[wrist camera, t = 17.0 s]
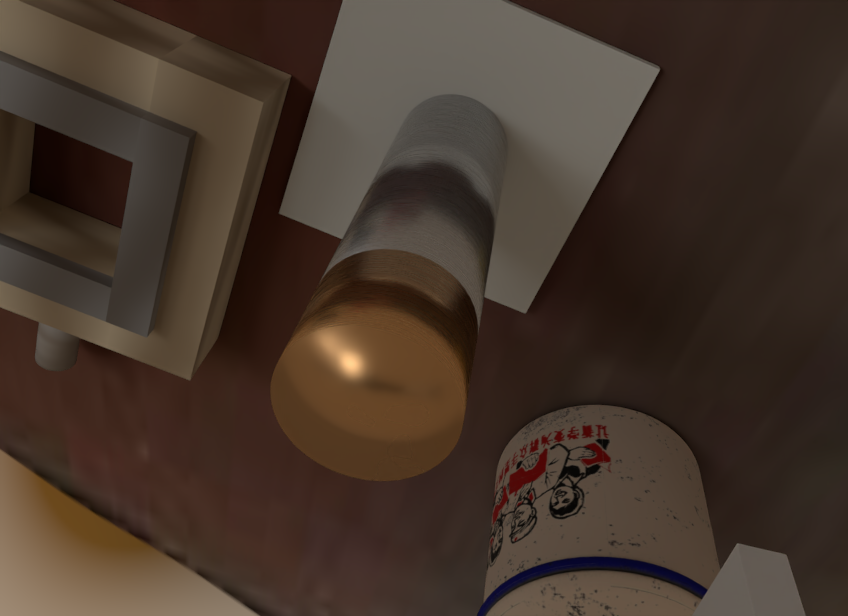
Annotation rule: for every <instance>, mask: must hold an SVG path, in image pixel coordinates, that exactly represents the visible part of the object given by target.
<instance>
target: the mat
mask: <svg viewBox="0 0 848 616" xmlns="http://www.w3.org/2000/svg"><path fill="white" fill-rule="evenodd" d="M659 71H660V68H659V66H657V65H655V64H653V63H650V62H648V61H646V60H643V59H641V58H639V57H637V56H634V55H632V54H630V53H627V52H625V51H623V50H621V49H618V48H616V47H614V46H611V45H609V44H607V43H604V42H602V41H600V40H598V39H595V38H593V37H591V36H588V35H586V34H584V33H582V32H579V31H577V30H575V29H572V28H570V27H568V26H566V25H563V24H561V23H559V22H556V21H554V20H552V19H550V18H547V17H545V16H543V15H540V14H538V13H536V12H534V11H531V10H529V9H527V8H524V7H522V6H520V5H517V4H515V3H513V2H511V1H508V0H343V2H342V5H341V9H340V12H339V15H338V19H337V22H336V25H335V29H334V32H333V35H332V39H331V42H330V45H329V49H328V52H327V55H326V59H325V62H324V65H323V69H322V72H321V75H320V78H319V82H318V85H317V88H316V92H315V95H314V98H313V102H312V105H311V108H310V112H309V115H308V118H307V122H306V125H305V128H304V132H303V135H302V138H301V142H300V145H299V148H298V151H297V155H296V158H295V161H294V165H293V168H292V171H291V175H290V178H289V181H288V185H287V188H286V191H285V195H284V198H283V201H282V205H281V208H280V211H279V214H281V215H284V216H286V217H289V218H291V219H294V220H296V221H299V222H301V223H303V224H306V225H308V226H311V227H313V228H316V229H318V230H321V231H323V232H326V233H328V234H331V235H333V236H335V237H338V238H340V239H342V238H343V236H344V234H345V233H346V231H347V229H348V227H349V225H350V223H351V221H352V219H353V217H354V215H355V213H356V211H357V210H358V208H359V206H360V204H361V202H362V200H363V198H364V196H365V194H366V192H367V190H368V188H369V187H370V185H371V183H372V181H373V179H374V177H375V175H376V173H377V171H378V169H379V167H380V165H381V164H382V162H383V160H384V158H385V156H386V154H387V152H388V150H389V148H390V146H391V144H392V142H393V141H394V139H395V137H396V135H397V133H398V131H399V129H400V127H401V125H402V123H403V122H404V120H405V118H406V117H407V115H408V114H409V113H410V111H412V110H413V109H414V108H415V107H416V106H417V105H418V104H420V103H421V102H423V101H425V100H427V99H429V98H432V97H434V96H439V95H445V94H457V95H463V96H467V97H470V98H473V99H475V100H477V101H479V102H481V103H482V104H484V105H485V106H486V107H488V108H489V109H490V110H491V111H492V112H493V113H494V114H495V115H496V117H497V118H498V119H499V121H500V122H501V124H502V126H503V128H504V131H505V134H506V137H507V143H508V156H507V162H506V168H505V174H504V180H503V186H502V192H501V198H500V204H499V210H498V216H497V222H496V228H495V235H494V241H493V247H492V253H491V259H490V265H489V271H488V277H487V283H486V289H485V295H484V297H486V298H488V299H490V300H493V301H495V302H498V303H500V304H503V305H505V306H508V307H510V308H513V309H515V310H517V311H520V312H522V313H525V314H526V312H527V310H528V308H529V307H530V305H531V303H532V301H533V299H534V297H535V296H536V294H537V292H538V290H539V288H540V287H541V285H542V283H543V281H544V279H545V277H546V276H547V274H548V272H549V270H550V268H551V267H552V265H553V263H554V261H555V259H556V258H557V256H558V254H559V252H560V250H561V248H562V247H563V245H564V243H565V241H566V239H567V238H568V236H569V234H570V232H571V230H572V229H573V227H574V225H575V223H576V221H577V219H578V218H579V216H580V214H581V212H582V210H583V209H584V207H585V205H586V203H587V201H588V200H589V198H590V196H591V194H592V192H593V190H594V189H595V187H596V185H597V183H598V181H599V180H600V178H601V176H602V174H603V172H604V171H605V169H606V167H607V165H608V163H609V161H610V160H611V158H612V156H613V154H614V152H615V151H616V149H617V147H618V145H619V143H620V142H621V140H622V138H623V136H624V134H625V132H626V131H627V129H628V127H629V125H630V123H631V122H632V120H633V118H634V116H635V114H636V113H637V111H638V109H639V107H640V105H641V103H642V102H643V100H644V98H645V96H646V94H647V93H648V91H649V89H650V87H651V85H652V83H653V82H654V80H655V78H656V76H657V74H658V73H659Z"/></svg>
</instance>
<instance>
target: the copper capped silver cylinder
mask: <svg viewBox="0 0 848 616" xmlns="http://www.w3.org/2000/svg"><path fill="white" fill-rule="evenodd" d="M507 156H508V143H507V137H506V134H505V131H504V128H503V126H502V124H501V122H500V121H499V119H498V118H497V117H496V115H495V114H494V113H493V112H492V111H491V110H490V109H489V108H488V107H486V106H485V105H484V104H482V103H481V102H479V101H477V100H475V99H473V98H470V97H467V96H463V95H457V94H445V95H439V96H434V97H432V98H429V99H427V100H425V101H423V102H421V103H420V104H418V105H417V106H416V107H415V108H414V109H413V110H412V111H410V113H409V114H408V115H407V117H406V118H405V120H404V122H403V123H402V125H401V127H400V129H399V131H398V133H397V135H396V137H395V139H394V141H393V142H392V144H391V146H390V148H389V150H388V152H387V154H386V156H385V158H384V160H383V162H382V164H381V165H380V167H379V169H378V171H377V173H376V175H375V177H374V179H373V181H372V183H371V185H370V187H369V188H368V190H367V192H366V194H365V196H364V198H363V200H362V202H361V204H360V206H359V208H358V210H357V211H356V213H355V215H354V217H353V219H352V221H351V223H350V225H349V227H348V229H347V231H346V233H345V234H344V236H343V238H342V240H341V242H340V244H339V246H338V248H337V250H336V252H335V254H334V256H333V258H332V259H331V261H330V263H329V265H328V267H327V269H326V271H325V273H324V275H323V277H322V279H321V281H320V282H319V284H318V286H317V288H316V290H315V292H314V294H313V296H312V298H311V300H310V302H309V304H308V305H307V307H306V309H305V311H304V313H303V315H302V317H301V319H300V321H299V323H298V325H297V327H296V328H295V330H294V332H293V334H292V336H291V338H290V340H289V342H288V344H287V346H286V348H285V350H284V351H283V353H282V355H281V357H280V359H279V361H278V363H277V365H276V367H275V370H274V372H273V375H272V380H271V389H270V396H271V403H272V407H273V411H274V414H275V416H276V418H277V421H278V423H279V425H280V426H281V428H282V430H283V431H284V433H285V434H286V435H287V437H288V438H289V439H290V440H291V442H292V443H293V444H294V445H295V446H296V447H297V448H298V449H299V450H300V451H302V452H303V453H304V454H305V455H307V456H308V457H309V458H311V459H312V460H314V461H315V462H317V463H319V464H320V465H322V466H324V467H326V468H328V469H330V470H333V471H335V472H337V473H340V474H343V475H346V476H350V477H353V478H358V479H363V480H372V481H393V480H401V479H406V478H410V477H413V476H416V475H419V474H422V473H424V472H426V471H428V470H430V469H432V468H433V467H435V466H437V465H438V464H439V463H441V462H442V461H443V460H444V459H445V458H446V457H447V456H448V455H449V454H450V453H451V451H452V450H453V449H454V447H455V445H456V444H457V442H458V440H459V437H460V435H461V432H462V427H463V422H464V416H465V410H466V404H467V398H468V392H469V385H470V379H471V373H472V367H473V361H474V355H475V349H476V343H477V337H478V331H479V325H480V319H481V313H482V307H483V301H484V295H485V289H486V283H487V277H488V271H489V265H490V259H491V253H492V247H493V241H494V235H495V228H496V222H497V216H498V210H499V204H500V198H501V192H502V186H503V180H504V174H505V168H506V162H507Z"/></svg>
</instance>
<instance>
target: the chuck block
mask: <svg viewBox="0 0 848 616" xmlns="http://www.w3.org/2000/svg"><path fill="white" fill-rule="evenodd" d="M290 79H291V75H289V74H287V73H285V72H282V71H280V70H278V69H275V68H273V67H270V66H268V65H266V64H263V63H261V62H258V61H256V60H254V59H251V58H249V57H247V56H244V55H242V54H239V53H237V52H235V51H232V50H230V49H228V48H225V47H223V46H220V45H218V44H216V43H213V42H211V41H209V40H206V39H204V38H201V37H199V36H197V35H194V34H192V33H189V32H187V31H185V30H182V29H180V28H178V27H175V26H173V25H170V24H168V23H166V22H163V21H161V20H159V19H156V18H154V17H151V16H149V15H147V14H144V13H142V12H140V11H137V10H135V9H132V8H130V7H128V6H125V5H123V4H120V3H118V2H116V1H113V0H0V307H1V308H4V309H6V310H9V311H12V312H14V313H17V314H19V315H22V316H25V317H27V318H30V319H32V320H35V321H37V322H39V326H38V335H37V344H36V353H35V360H36V362H37V364H38V365H39V366H41V367H42V368H44V369H47V370H51V371H63V370H67V369H69V368H71V367H72V366H74V364H75V363H76V360H77V354H78V348H79V341H80V338H81V339H84V340H86V341H89V342H92V343H94V344H97V345H99V346H102V347H105V348H107V349H110V350H112V351H115V352H117V353H120V354H123V355H125V356H128V357H130V358H133V359H136V360H138V361H141V362H143V363H146V364H148V365H151V366H154V367H156V368H159V369H161V370H164V371H167V372H169V373H172V374H174V375H177V376H179V377H182V378H185V379H187V380H191V378H192V377H193V375H194V374H195V372H196V371H197V369H198V368H199V366H200V365H201V363H202V362H203V360H204V358H205V357H206V355H207V354H208V352H209V351H210V349H211V348H212V346H213V345H214V343H215V342H216V340H217V339H218V336H219V333H220V329H221V326H222V322H223V318H224V315H225V311H226V308H227V304H228V301H229V297H230V293H231V290H232V286H233V283H234V279H235V276H236V272H237V268H238V265H239V261H240V258H241V254H242V251H243V247H244V243H245V240H246V236H247V233H248V229H249V226H250V222H251V218H252V215H253V211H254V208H255V204H256V201H257V197H258V193H259V190H260V186H261V183H262V179H263V176H264V172H265V168H266V165H267V161H268V158H269V154H270V151H271V147H272V143H273V140H274V136H275V133H276V129H277V126H278V122H279V118H280V115H281V111H282V108H283V104H284V100H285V97H286V93H287V90H288V86H289V83H290ZM35 123H37V124H40V125H42V126H45V127H47V128H50V129H52V130H54V131H57V132H59V133H62V134H64V135H67V136H69V137H72V138H74V139H77V140H79V141H82V142H84V143H86V144H89V145H91V146H94V147H96V148H99V149H101V150H104V151H106V152H109V153H111V154H114V155H116V156H119V157H121V158H123V159H126V160H128V161H131V162H133V166H132V172H131V178H130V184H129V189H128V195H127V201H126V207H125V212H124V218H123V224H122V229H121V228H118V227H116V226H113V225H111V224H108V223H106V222H103V221H101V220H98V219H96V218H93V217H91V216H88V215H86V214H83V213H81V212H78V211H76V210H73V209H71V208H68V207H66V206H63V205H61V204H58V203H56V202H53V201H51V200H48V199H46V198H43V197H40V196H38V195H35V194H33V193H30V192H29V186H30V175H31V164H32V154H33V143H34V132H35Z"/></svg>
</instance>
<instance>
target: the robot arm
mask: <svg viewBox="0 0 848 616" xmlns="http://www.w3.org/2000/svg"><path fill="white" fill-rule="evenodd" d="M692 616H806V615H805V612H804V609H803V606H802V603H801V599H800V596H799V593H798V590H797V587H796V583H795V580H794V577H793V574H792V571H791V567H790V564H789V561H788V558H787V555H786V554H782V553H778V552H773V551H769V550H765V549H760V548H756V547H752V546H747V545H743V544H739V543H737V544H736V546H735V548H734V549H733V551H732V552H731V554H730V556H729V557H728V559H727V560H726V562H725V564H724V565H723V567H722V568H721V570H720V572H719V573H718V575H717V576H716V578H715V580H714V581H713V583H712V584H711V586H710V588H709V589H708V591H707V592H706V594H705V596H704V597H703V599H702V600H701V602H700V604H699V605H698V607H697V608H696V610H695V612H694V613H693V615H692Z"/></svg>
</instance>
